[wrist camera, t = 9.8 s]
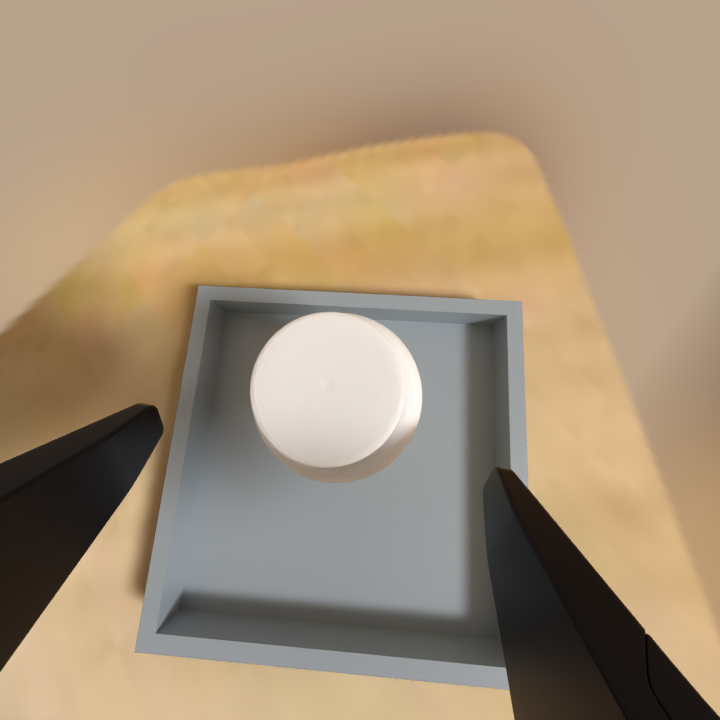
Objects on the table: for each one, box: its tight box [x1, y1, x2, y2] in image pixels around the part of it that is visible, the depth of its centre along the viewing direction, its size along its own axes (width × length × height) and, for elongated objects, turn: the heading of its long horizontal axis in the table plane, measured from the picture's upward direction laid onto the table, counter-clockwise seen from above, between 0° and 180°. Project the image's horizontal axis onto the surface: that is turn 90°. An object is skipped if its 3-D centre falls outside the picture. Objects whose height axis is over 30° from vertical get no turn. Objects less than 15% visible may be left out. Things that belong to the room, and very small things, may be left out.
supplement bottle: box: [250, 312, 422, 483], centre depth 13 cm, size 6×6×10 cm
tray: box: [135, 285, 528, 690], centre depth 17 cm, size 18×18×2 cm
